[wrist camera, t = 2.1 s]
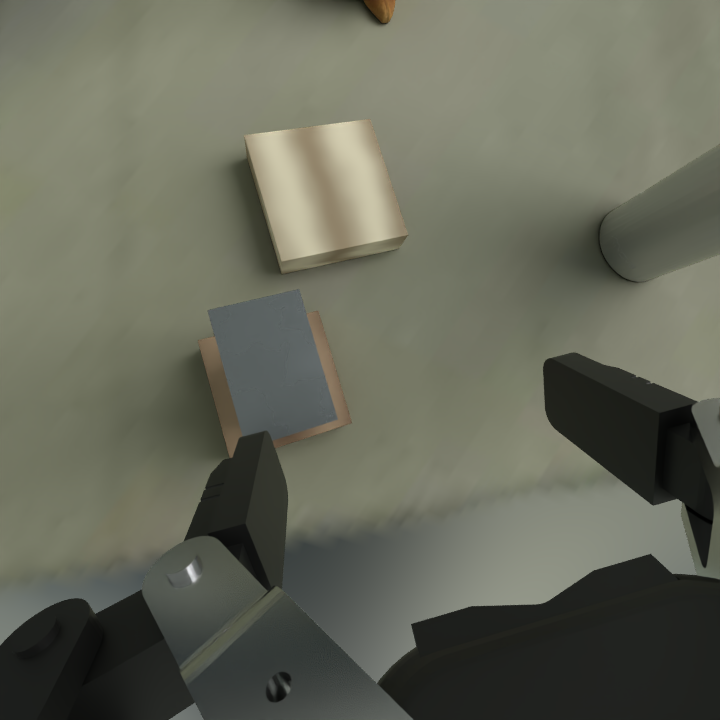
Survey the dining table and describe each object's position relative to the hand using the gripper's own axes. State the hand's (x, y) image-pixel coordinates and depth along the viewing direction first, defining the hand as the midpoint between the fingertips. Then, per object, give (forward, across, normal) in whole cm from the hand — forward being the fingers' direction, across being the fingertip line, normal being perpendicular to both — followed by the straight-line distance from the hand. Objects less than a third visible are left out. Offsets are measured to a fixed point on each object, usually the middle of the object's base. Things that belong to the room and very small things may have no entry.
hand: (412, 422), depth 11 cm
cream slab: (+31, -1, -8) cm, 32 cm away
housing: (+20, +7, +5) cm, 22 cm away
